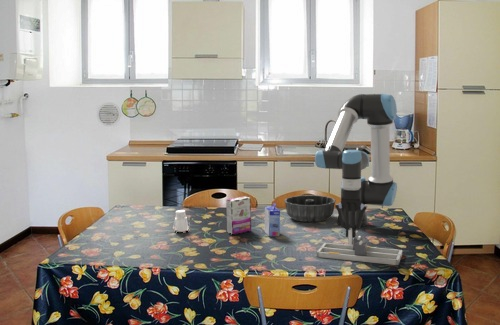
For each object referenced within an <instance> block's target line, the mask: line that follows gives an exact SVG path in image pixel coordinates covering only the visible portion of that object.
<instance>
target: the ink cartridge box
mask: <svg viewBox="0 0 500 325" xmlns="http://www.w3.org/2000/svg"><path fill="white" fill-rule="evenodd" d="M276 206H277V203H275V202H273V204H272V206H265V207H264V229H263V230H264V231H263V232H265V234H266V235H267V236H268V237H280V234H281V231H280V228H281V211H280V209H278V207H276Z"/></svg>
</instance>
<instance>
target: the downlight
mask: <svg viewBox="0 0 500 325" xmlns="http://www.w3.org/2000/svg"><path fill="white" fill-rule="evenodd" d="M173 221H174V223H173V224H174V225H172V226H173V229H175V230H178V231H184V230H188V229H189V230H190V227H189V226H190V224H191V222H190V221H188V217H187V215H186V210H185V209H179V210H175V218H174V220H173ZM188 224H189V225H188Z"/></svg>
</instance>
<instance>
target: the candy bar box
mask: <svg viewBox="0 0 500 325" xmlns="http://www.w3.org/2000/svg"><path fill="white" fill-rule="evenodd" d="M251 203H252V202H251V197H249V196H240V197H239V196H238V197H235V198H228V199H226V200H225V204H226V208H225V209H226V232H228V233H227V234H229V233H231V234H230V235H232V234H235V235H238V234H237V233H240V234H243V233H242V232H244V233H248V232H247V231H249V232H251V231H252V213H251V212H252V206H251V205H252V204H251Z"/></svg>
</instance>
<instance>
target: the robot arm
mask: <svg viewBox="0 0 500 325" xmlns="http://www.w3.org/2000/svg"><path fill="white" fill-rule="evenodd" d="M397 112H398V111H397V103H396V99H395V97H394V96H393V95H392V94H386V93H369V94H368V93H367V94H363V93H359V94H357V95H353V96H352V97H349V99H347V100H345V102H344V103H343V104H342V105H341V107H340V108H339V110H338V112H337V120H336V122H335V125H334V127H333V129H332V131H331V134H330V136H329V138H328V140H327V143H326V146H325V147H324V149H322V150H321V149H320V150H317V151H316V152H315V155H314V162H315V166H316V167H317V168H319V169H320V168H321V169H328V170H329V169H332V170H341V172H342V173H341V174H342V175H341V187H340V202H339V203H335V205H334V208H336V210H337V213H338V215H337V218H336V219H337V220H336V223H337V225H339V226H341V228H342V229H345V237H346V238H348V240H347V243H348V244H347V245H348V246H352V245H353V239H354V238H355V237H357V230H360V228H363V227H367V226H368V225H369V219H368V215H367V211H366V210H367V209H368V205H369V206H378V207H379V206H380V207H390V206H392V205H394V202H395V199H396V195H397V192H398V190H397V189H398V183H397V182H395V181H394V178H393V176H392V175H391V173H390V172H391V167H390V165H391V162H390V158H391V157H390V153H391V152H390V126H392V125H393V124H394V122H393V121H394V120H396V118H397V115H398V114H397ZM358 120H366V123H367V125H368V126H369V127H370V156H369V155H368V153H367V152H365V151H362V150H359V149H346V150H344V148H345V146H346V143H347V141H348V139H349V136H350V133H351V131H352V129H353V126H354V125H355V124H356V123H357V122H358ZM343 150H344V151H343ZM370 157H371V158H370ZM370 160H371V161H370ZM370 162H371V164H370ZM369 164H370V166H371V167H370V168H371V171H370V172H371V175H370V176H369V177H368V178H367V179H366V177H365V176H362V171H363V170H365V169H366V168H367V167H368V166H369Z"/></svg>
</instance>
